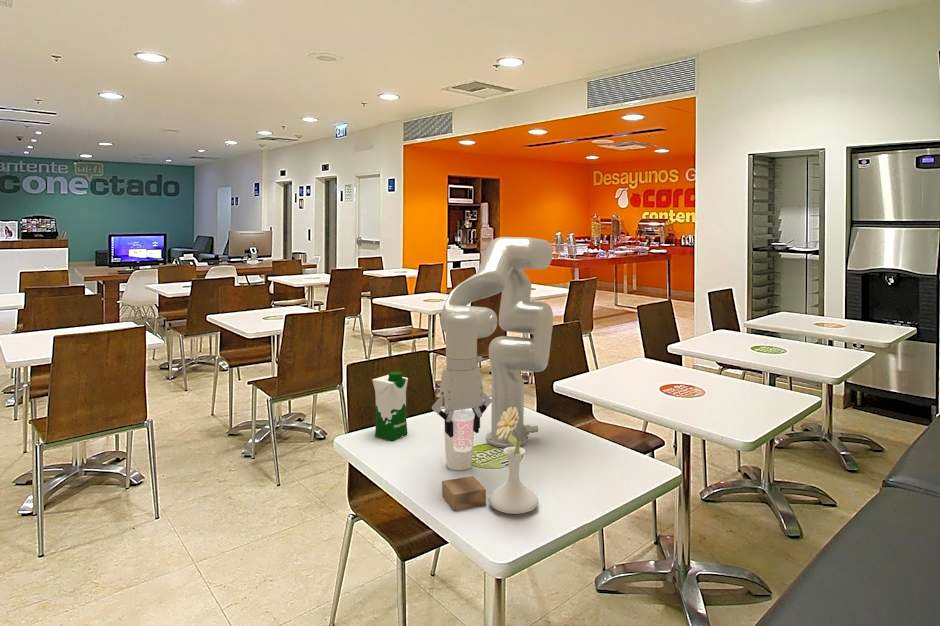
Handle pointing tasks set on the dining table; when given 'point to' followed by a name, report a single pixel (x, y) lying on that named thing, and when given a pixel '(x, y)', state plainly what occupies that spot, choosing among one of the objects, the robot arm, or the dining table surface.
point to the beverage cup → (463, 430)
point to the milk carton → (390, 406)
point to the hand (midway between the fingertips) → (462, 432)
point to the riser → (463, 493)
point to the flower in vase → (512, 472)
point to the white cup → (457, 455)
